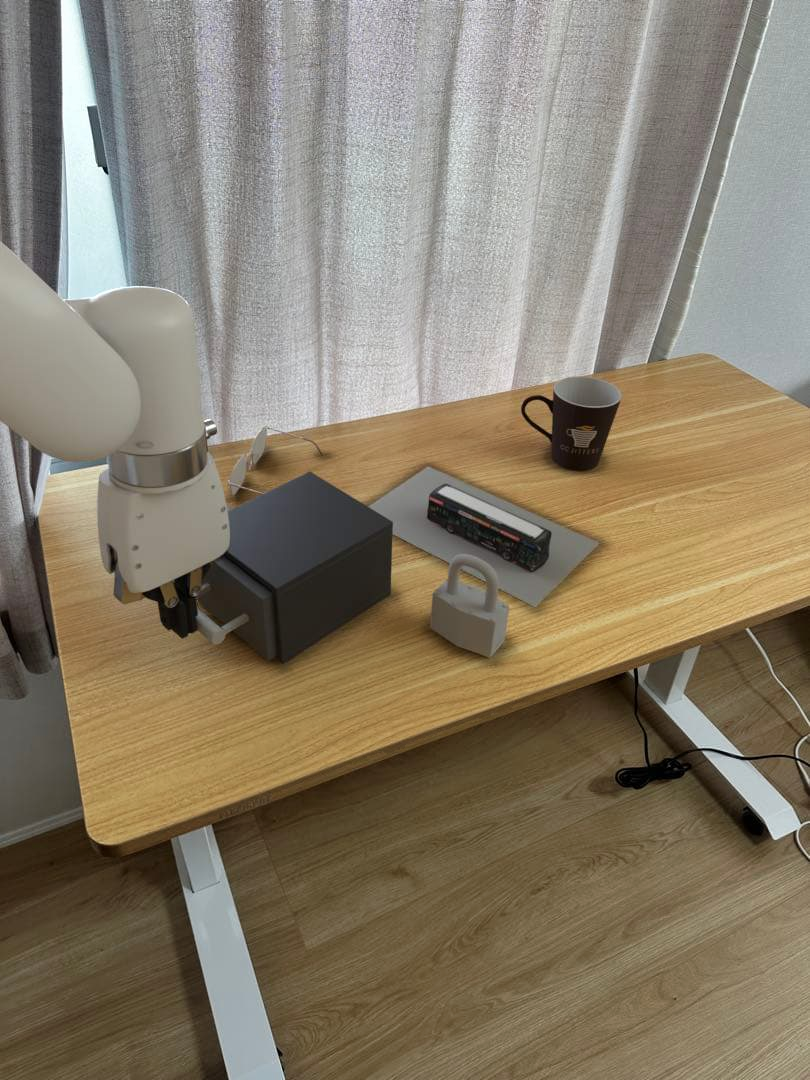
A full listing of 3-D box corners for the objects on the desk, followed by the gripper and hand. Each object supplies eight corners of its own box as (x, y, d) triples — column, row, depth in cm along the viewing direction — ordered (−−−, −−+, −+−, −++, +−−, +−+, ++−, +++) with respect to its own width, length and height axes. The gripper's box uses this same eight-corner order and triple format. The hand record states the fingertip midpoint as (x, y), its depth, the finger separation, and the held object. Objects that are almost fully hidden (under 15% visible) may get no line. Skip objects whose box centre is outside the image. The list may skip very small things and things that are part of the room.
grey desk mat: (534, 607, 85) (540, 576, 82) (355, 515, 96) (355, 485, 94) (599, 543, 94) (606, 513, 91) (428, 466, 106) (429, 438, 103)
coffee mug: (616, 454, 110) (631, 388, 104) (592, 483, 104) (607, 414, 98) (538, 429, 115) (548, 364, 108) (511, 455, 109) (520, 388, 103)
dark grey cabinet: (282, 664, 77) (276, 588, 71) (205, 600, 84) (194, 526, 78) (390, 594, 85) (393, 521, 79) (312, 541, 92) (309, 470, 86)
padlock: (507, 639, 81) (519, 561, 75) (487, 662, 78) (498, 584, 72) (447, 610, 84) (454, 533, 78) (426, 632, 81) (431, 554, 75)
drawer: (231, 684, 73) (222, 622, 69) (161, 622, 80) (149, 561, 75) (371, 595, 84) (372, 536, 79) (300, 546, 90) (297, 488, 85)
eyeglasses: (266, 445, 108) (266, 420, 106) (324, 458, 108) (325, 432, 105) (227, 503, 97) (226, 476, 95) (291, 517, 97) (291, 490, 94)
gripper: (209, 408, 69) (223, 574, 80) (41, 465, 60) (83, 644, 71) (263, 441, 65) (271, 611, 76) (93, 507, 56) (129, 690, 67)
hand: (180, 627), depth 74 cm, fingers closed
